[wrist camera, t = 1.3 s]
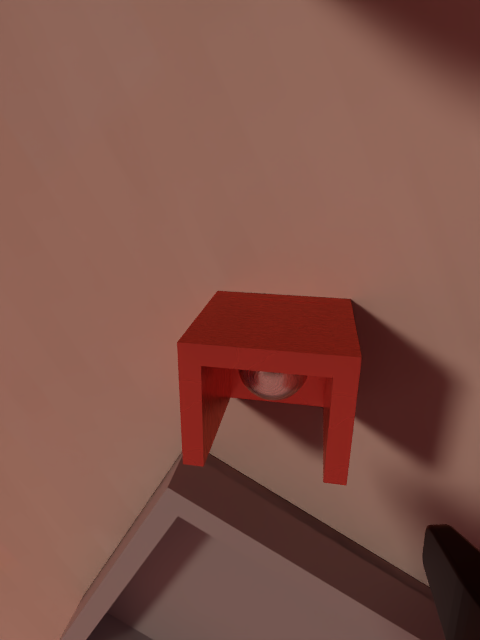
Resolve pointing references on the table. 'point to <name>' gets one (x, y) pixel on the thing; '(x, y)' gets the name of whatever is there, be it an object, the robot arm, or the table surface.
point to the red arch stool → (270, 366)
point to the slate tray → (245, 572)
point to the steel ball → (271, 384)
